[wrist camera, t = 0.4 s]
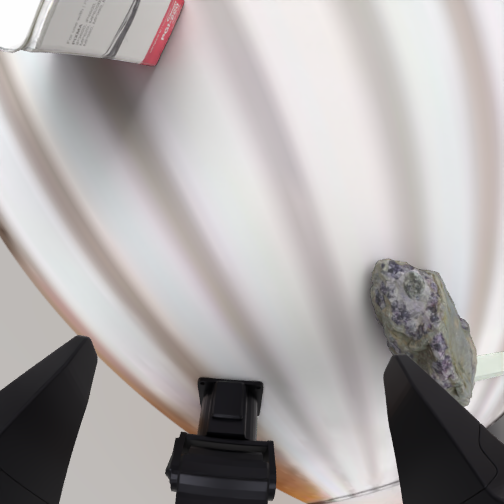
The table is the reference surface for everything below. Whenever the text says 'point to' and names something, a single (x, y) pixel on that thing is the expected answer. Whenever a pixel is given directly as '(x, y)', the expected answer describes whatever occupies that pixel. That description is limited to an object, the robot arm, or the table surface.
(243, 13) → the table surface
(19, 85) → the table surface
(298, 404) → the table surface
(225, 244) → the table surface
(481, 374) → the pale grey u-shaped frame
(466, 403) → the mineral rock
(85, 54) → the ink box
